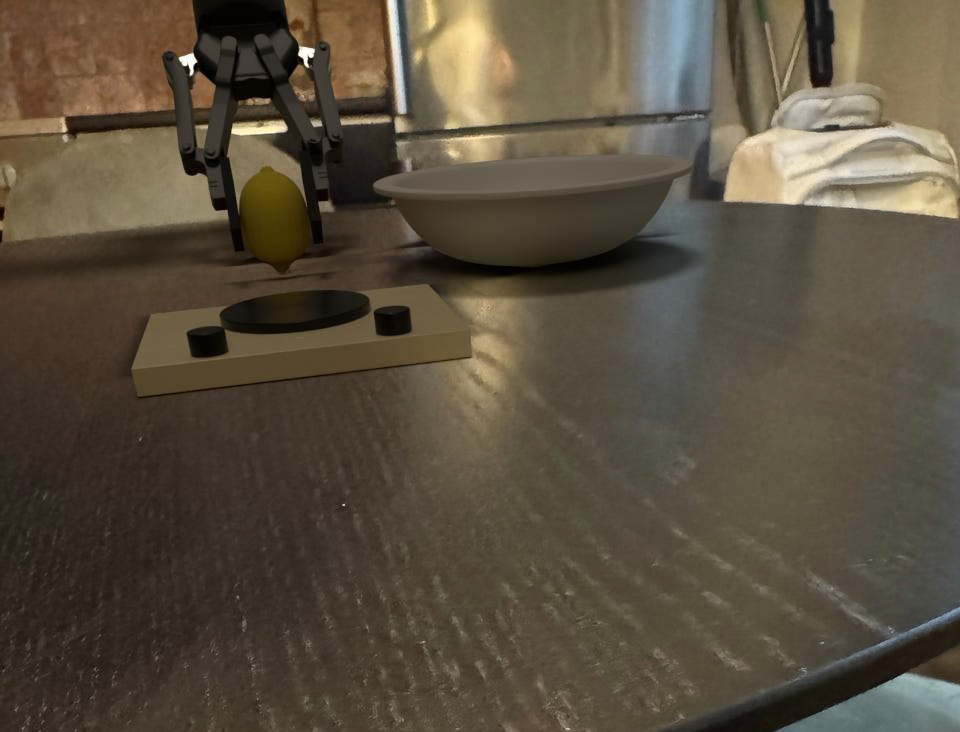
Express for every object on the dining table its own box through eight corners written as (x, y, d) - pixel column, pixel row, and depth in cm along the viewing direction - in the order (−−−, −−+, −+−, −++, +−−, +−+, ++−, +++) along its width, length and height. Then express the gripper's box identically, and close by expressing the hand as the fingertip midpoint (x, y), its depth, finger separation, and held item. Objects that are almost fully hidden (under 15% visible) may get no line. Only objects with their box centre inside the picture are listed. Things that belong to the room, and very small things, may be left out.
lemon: (271, 282, 78) (253, 171, 74) (236, 275, 82) (217, 169, 78) (329, 270, 81) (315, 163, 77) (293, 264, 85) (278, 161, 81)
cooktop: (156, 337, 64) (146, 294, 62) (429, 306, 66) (426, 264, 65) (137, 397, 52) (125, 345, 50) (472, 356, 55) (468, 306, 53)
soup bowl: (688, 290, 65) (692, 181, 62) (343, 300, 70) (330, 199, 67) (690, 232, 86) (694, 147, 82) (422, 243, 90) (415, 163, 87)
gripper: (111, -37, 77) (144, 214, 71) (347, -50, 80) (396, 191, 74) (134, 44, 84) (165, 278, 79) (349, 30, 87) (394, 255, 81)
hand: (277, 236), depth 76 cm, fingers closed on lemon, 5 cm apart
